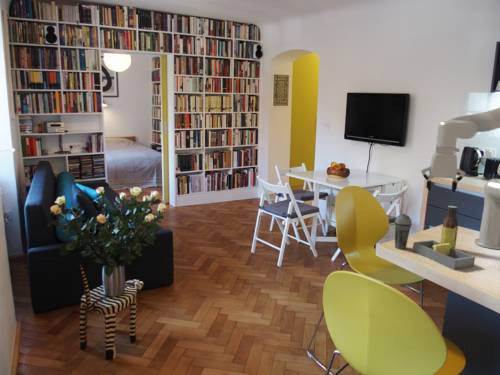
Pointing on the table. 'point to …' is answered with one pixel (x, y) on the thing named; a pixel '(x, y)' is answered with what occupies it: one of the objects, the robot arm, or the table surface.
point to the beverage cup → (402, 230)
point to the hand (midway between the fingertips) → (440, 190)
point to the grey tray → (452, 260)
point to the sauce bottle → (450, 227)
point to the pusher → (442, 248)
